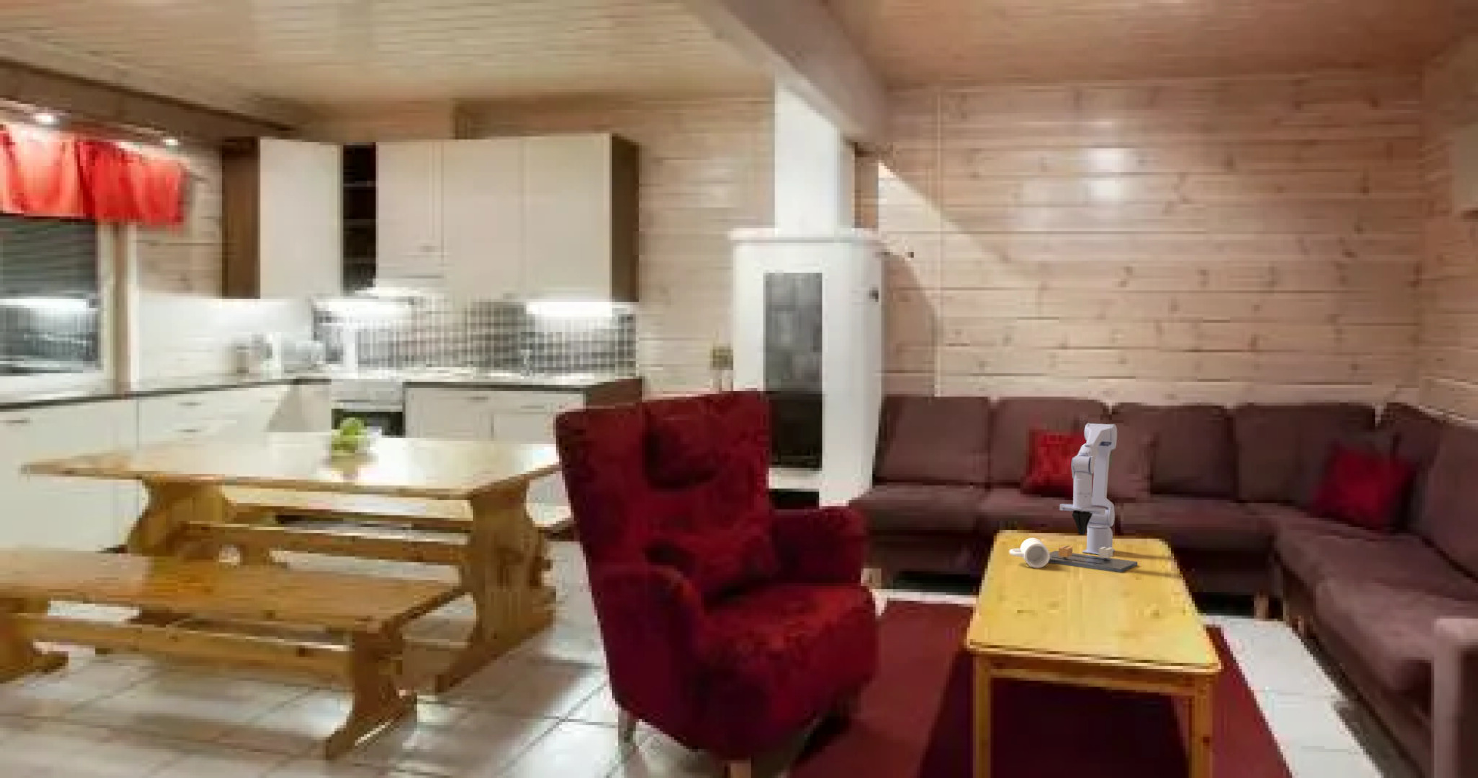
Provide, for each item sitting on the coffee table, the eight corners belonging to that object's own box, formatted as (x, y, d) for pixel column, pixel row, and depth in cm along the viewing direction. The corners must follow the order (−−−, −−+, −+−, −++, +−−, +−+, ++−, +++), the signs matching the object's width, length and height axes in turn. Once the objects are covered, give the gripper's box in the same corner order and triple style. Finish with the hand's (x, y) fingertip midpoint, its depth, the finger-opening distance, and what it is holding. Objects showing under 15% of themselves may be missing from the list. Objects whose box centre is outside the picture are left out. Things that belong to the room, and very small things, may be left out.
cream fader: (1103, 557, 374) (1103, 546, 374) (1112, 558, 372) (1112, 547, 372) (1098, 559, 371) (1099, 548, 371) (1107, 560, 369) (1108, 549, 369)
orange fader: (1063, 556, 376) (1063, 545, 375) (1072, 557, 374) (1072, 546, 373) (1058, 558, 372) (1058, 547, 372) (1067, 559, 371) (1067, 548, 370)
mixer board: (1055, 554, 387) (1055, 550, 386) (1137, 565, 369) (1137, 561, 369) (1037, 561, 375) (1037, 557, 375) (1120, 572, 358) (1121, 568, 358)
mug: (1044, 562, 375) (1044, 538, 374) (1049, 568, 365) (1050, 543, 364) (1007, 561, 376) (1007, 537, 375) (1011, 567, 366) (1011, 543, 365)
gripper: (1056, 492, 370) (1055, 533, 371) (1099, 496, 361) (1098, 539, 362) (1064, 489, 376) (1064, 530, 376) (1108, 493, 366) (1107, 535, 367)
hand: (1081, 534), depth 369 cm, fingers closed
